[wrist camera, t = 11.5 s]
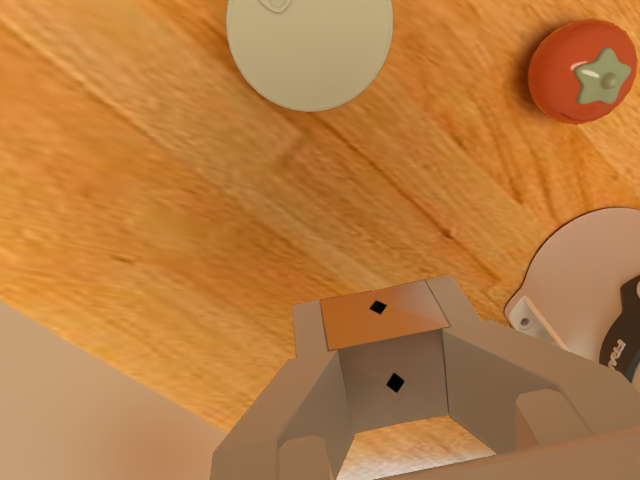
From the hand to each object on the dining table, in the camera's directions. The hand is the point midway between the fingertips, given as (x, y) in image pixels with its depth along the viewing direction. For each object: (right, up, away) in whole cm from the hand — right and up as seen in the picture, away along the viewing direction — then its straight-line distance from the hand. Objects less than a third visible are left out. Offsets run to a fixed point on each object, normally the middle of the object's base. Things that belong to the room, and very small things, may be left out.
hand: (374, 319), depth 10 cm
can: (-3, +18, +29) cm, 35 cm away
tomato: (+18, +15, +33) cm, 40 cm away
